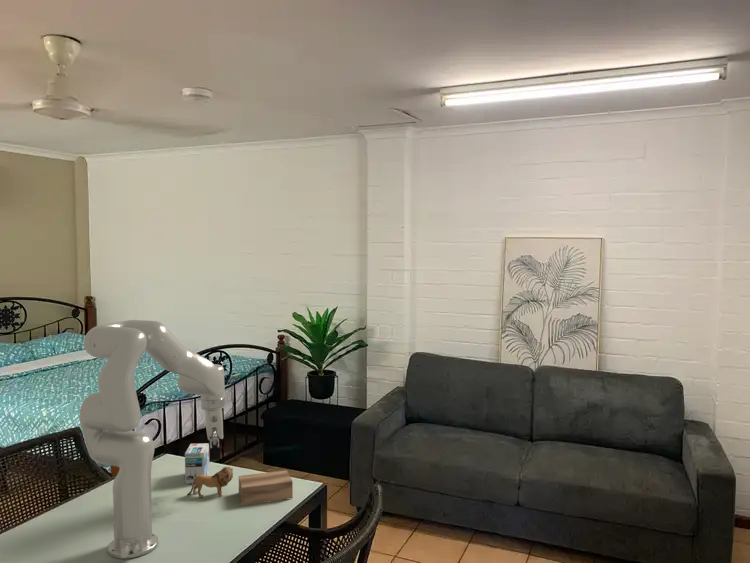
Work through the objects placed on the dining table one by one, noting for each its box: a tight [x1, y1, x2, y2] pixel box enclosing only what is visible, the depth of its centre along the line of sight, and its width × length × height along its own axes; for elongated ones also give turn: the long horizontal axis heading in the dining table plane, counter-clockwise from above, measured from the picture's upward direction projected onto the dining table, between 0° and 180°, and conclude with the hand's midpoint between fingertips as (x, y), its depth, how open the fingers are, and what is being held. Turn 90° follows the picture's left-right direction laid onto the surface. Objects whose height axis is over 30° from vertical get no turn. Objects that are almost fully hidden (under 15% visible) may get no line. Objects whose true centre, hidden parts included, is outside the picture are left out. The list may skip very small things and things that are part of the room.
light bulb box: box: [184, 442, 210, 485], centre depth 207 cm, size 11×7×11 cm, turn 7°
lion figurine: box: [186, 465, 234, 499], centre depth 192 cm, size 15×5×9 cm, turn 103°
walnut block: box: [238, 470, 294, 506], centre depth 192 cm, size 10×16×6 cm, turn 109°
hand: (214, 454), depth 193 cm, fingers open, 9 cm apart
